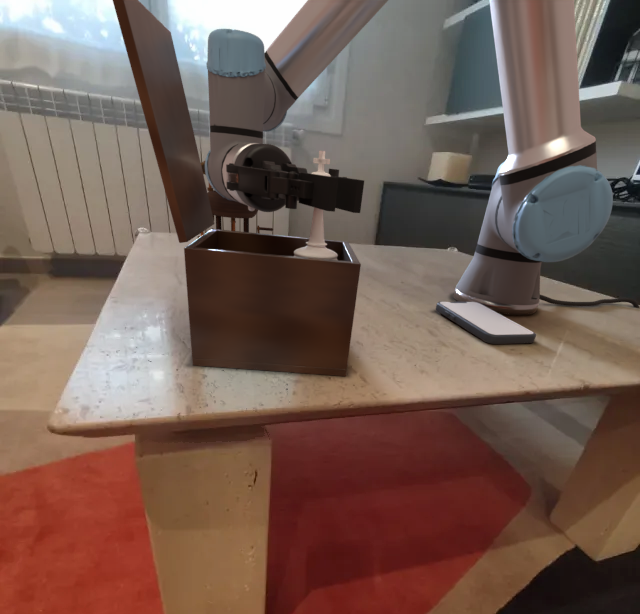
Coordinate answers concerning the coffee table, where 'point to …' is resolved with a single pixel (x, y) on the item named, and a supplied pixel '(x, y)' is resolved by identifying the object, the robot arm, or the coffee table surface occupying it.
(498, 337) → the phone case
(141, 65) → the lid
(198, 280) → the chest
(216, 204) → the bird figurine
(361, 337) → the coffee table surface
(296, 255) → the chess piece
